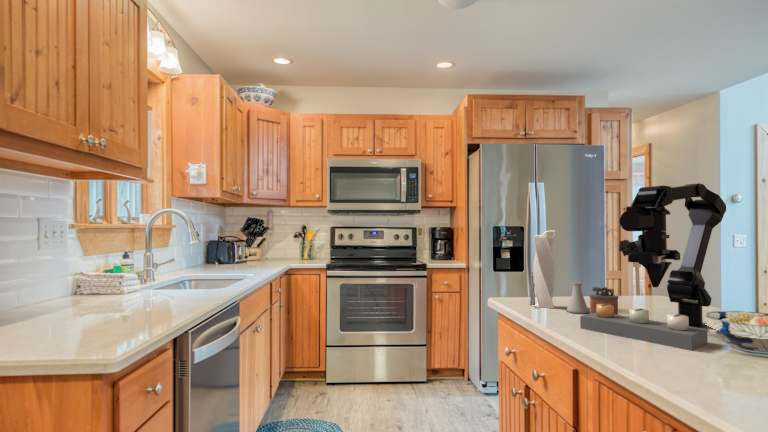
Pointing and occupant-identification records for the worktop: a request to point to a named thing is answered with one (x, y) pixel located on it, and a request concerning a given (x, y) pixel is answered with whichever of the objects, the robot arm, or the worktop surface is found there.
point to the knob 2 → (678, 321)
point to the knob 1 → (605, 310)
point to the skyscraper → (543, 272)
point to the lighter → (603, 298)
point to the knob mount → (646, 331)
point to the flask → (577, 300)
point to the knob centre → (639, 315)
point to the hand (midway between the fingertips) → (655, 287)
